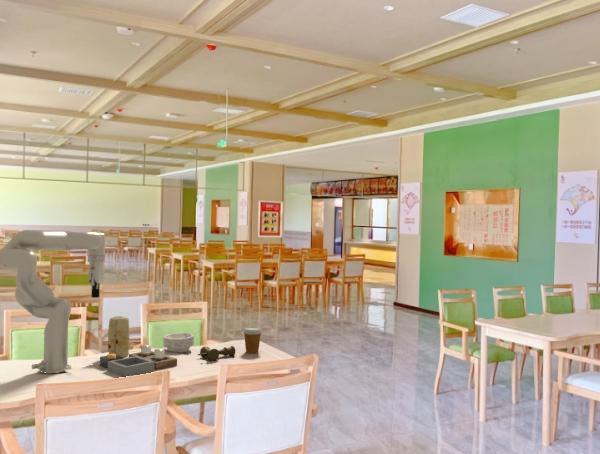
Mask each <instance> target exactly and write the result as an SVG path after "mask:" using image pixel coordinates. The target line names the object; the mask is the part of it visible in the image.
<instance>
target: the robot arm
mask: <svg viewBox="0 0 600 454" xmlns="http://www.w3.org/2000/svg"><path fill="white" fill-rule="evenodd" d="M73 250H74V251H75V250H87V262H88V263H89V265H88V274H87V275H88V277H87V280H88V282H89V284H90V287H91V298H94V299H95V298H96V299H97V298H100V294H101V293H100V288H101V283H103V282H104V281H105V261H106V260H105V258H106V234H105V233H103V232H91V231H90V232H88V231H87V232H85V231H72V230H71V231H70V230H50V229H47V230H44V229H22V230H20V231H18V233H17V234H15V235H14V236H13V237H12V238H11V239H10V240H9V241H8V242H7V243H6V244H5V245H4V246H2V248H1V249H0V268H2V269H4V270H12V271H13V270H16V276H15V285H16V289H15V292H14V297H15V300H16V302H17V303H18V304H19V305H20V306H21V307H22V308H24V309H25V310H26V311H27V312H28V313H30V314H31V315H32V316H34V317H35V318H39V319H45V320H46V319H47V322H46V323H45V327H44V329H43V330H44V331H43V359H41V362H38V363H35V364H31V369H32V370H35V369H37V370H40V371H42V372H46V373H56V374H60V373H59V372H63V373H66V372H65V371H68V370H71V369H72V366H71V364H68V359H69V358H68V355H69V354H68V353H69V352H68V351H69V350H68V348H69V322H70V316H71V311H72V304H71V303H70V301H69V300H67V299H66V298H63V297H59V296H58V297H57V296H55V295H54V291H53V290H52V288H51V287H50V286H49V285H48V284H47V283H45V282H44V281H43V280H42V279H41V278H40V277H39V276H38V274H37V264H38V258H37V255H36V253H35V252H34V251H73ZM40 371H39V372H40Z"/></svg>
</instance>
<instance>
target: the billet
mask: <svg viewBox="0 0 600 454" xmlns="http://www.w3.org/2000/svg"><path fill="white" fill-rule="evenodd" d="M154 352H155V361H162V360H165V355H166V353H165V348H163V347H162V348H155V349H154Z"/></svg>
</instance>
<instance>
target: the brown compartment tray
mask: <svg viewBox="0 0 600 454" xmlns="http://www.w3.org/2000/svg"><path fill="white" fill-rule="evenodd" d="M134 356H138V357H142V356H141V351H139V352H138V351H137V352H134V353H129V355H128V358H129V357H134ZM142 358H145V359H148V360H151V361H154V362H155V365H154V371H158V370H162V369H166V368H167V369H168V368H171V367H176V366H178V358H176V357H173V356H169V355H166V354H165V360H162V361H155V351H154V350H151V356H146V357H142Z"/></svg>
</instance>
